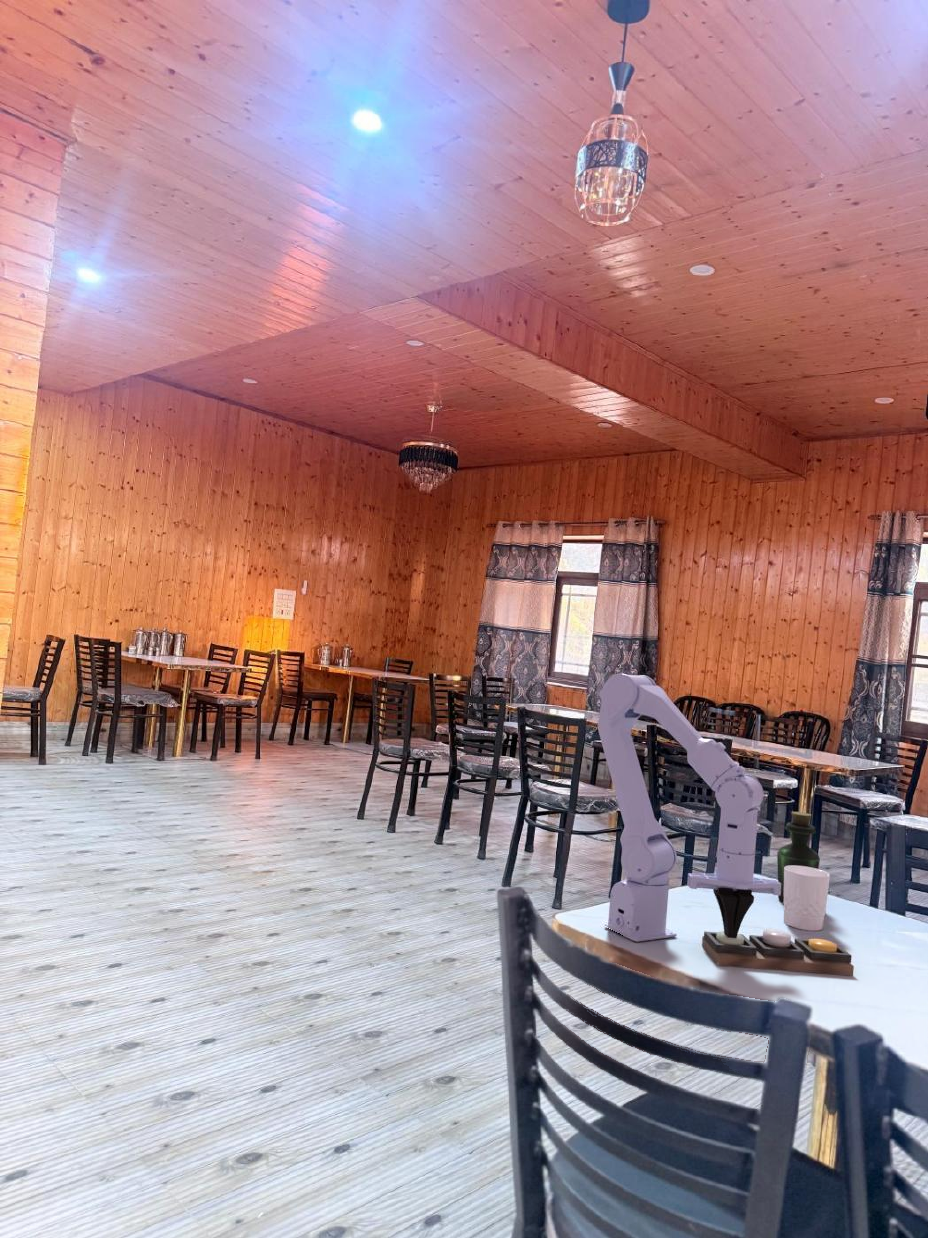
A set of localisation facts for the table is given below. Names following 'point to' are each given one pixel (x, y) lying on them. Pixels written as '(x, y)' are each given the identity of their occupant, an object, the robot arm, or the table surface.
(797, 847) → the potion bottle
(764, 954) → the button panel
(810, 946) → the amber button
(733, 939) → the sage button
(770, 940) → the pale pink button
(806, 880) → the white cup
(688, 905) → the table surface
